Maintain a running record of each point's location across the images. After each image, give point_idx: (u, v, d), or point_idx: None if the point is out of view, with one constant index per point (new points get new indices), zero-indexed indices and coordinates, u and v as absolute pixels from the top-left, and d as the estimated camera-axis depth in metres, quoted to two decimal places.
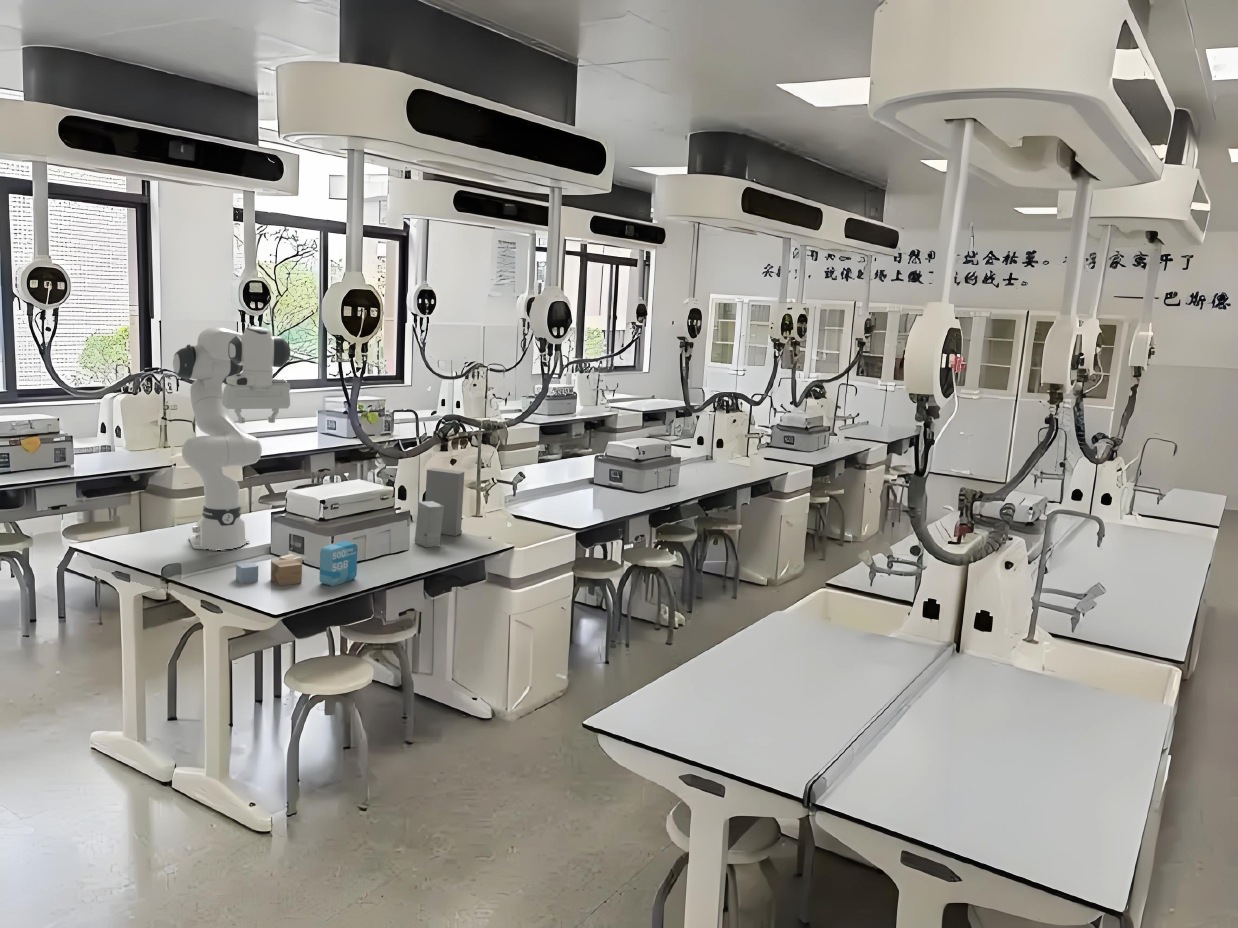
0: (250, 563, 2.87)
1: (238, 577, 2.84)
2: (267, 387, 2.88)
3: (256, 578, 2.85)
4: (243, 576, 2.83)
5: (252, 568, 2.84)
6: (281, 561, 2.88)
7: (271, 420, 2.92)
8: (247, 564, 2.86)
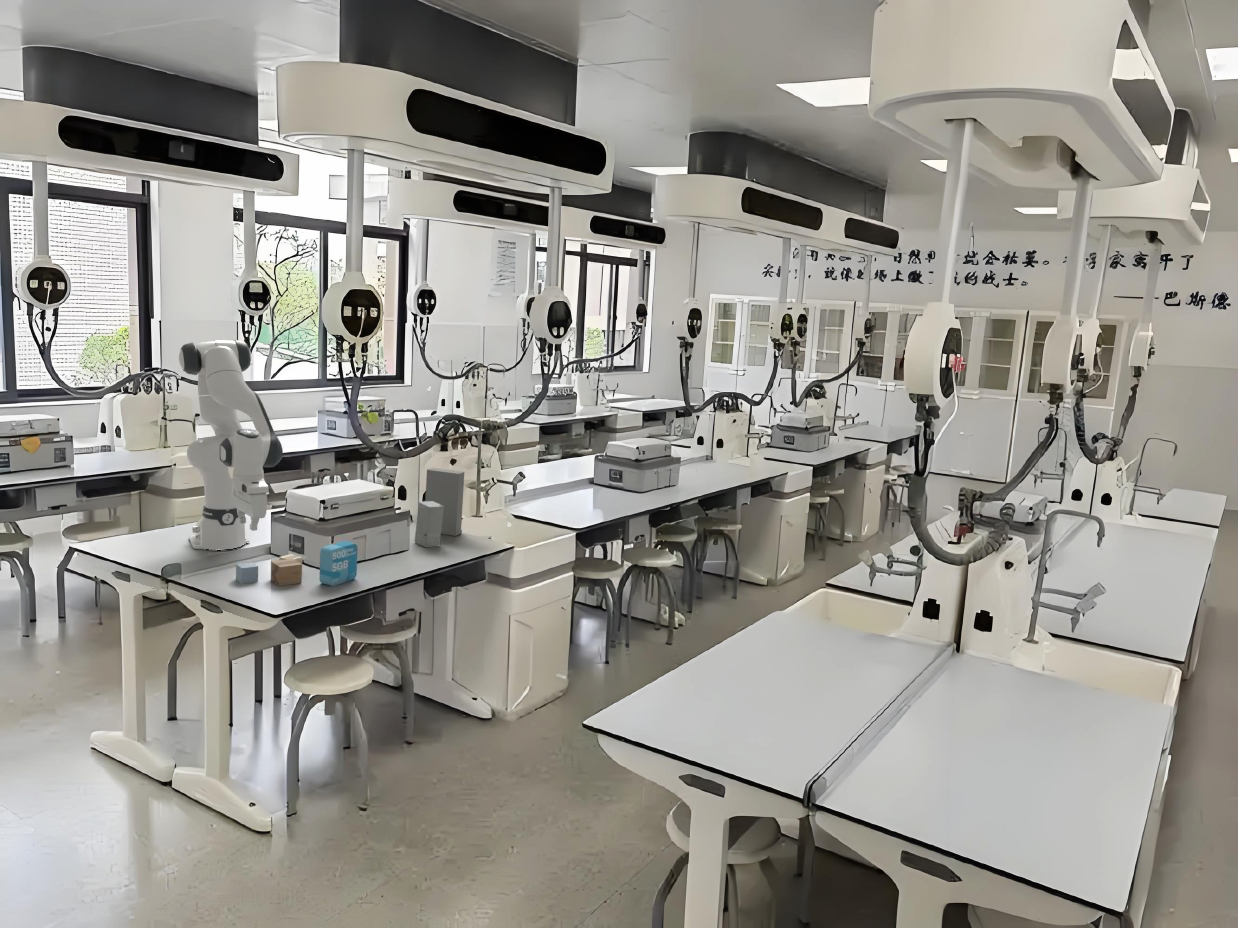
0: (250, 563, 2.87)
1: (238, 577, 2.84)
2: None
3: (256, 578, 2.85)
4: (243, 576, 2.83)
5: (252, 568, 2.84)
6: (281, 561, 2.88)
7: None
8: (246, 564, 2.86)
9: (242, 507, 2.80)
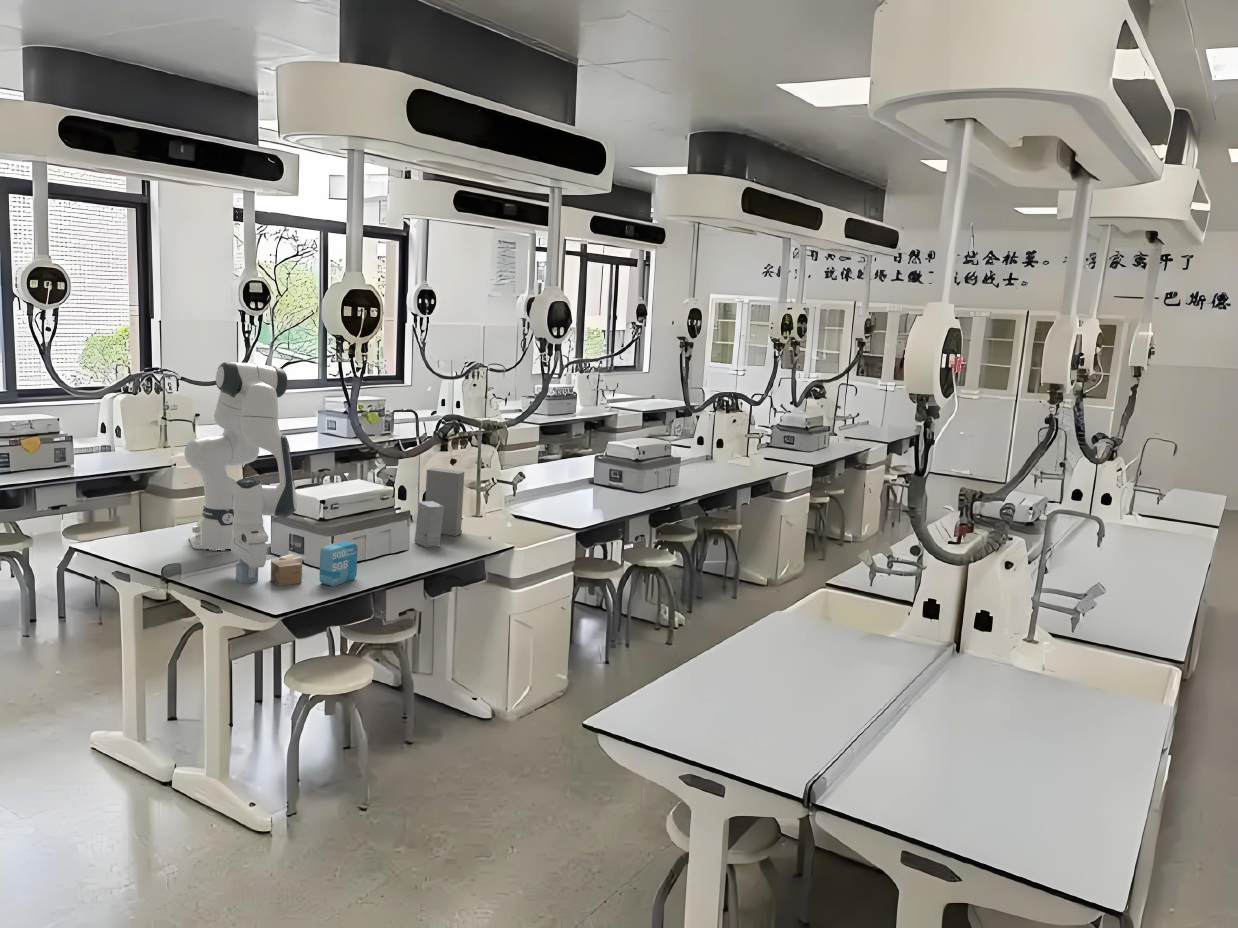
0: None
1: (238, 577, 2.84)
2: None
3: (256, 578, 2.85)
4: (243, 576, 2.83)
5: None
6: (281, 561, 2.88)
7: None
8: (246, 564, 2.85)
9: (242, 556, 2.83)
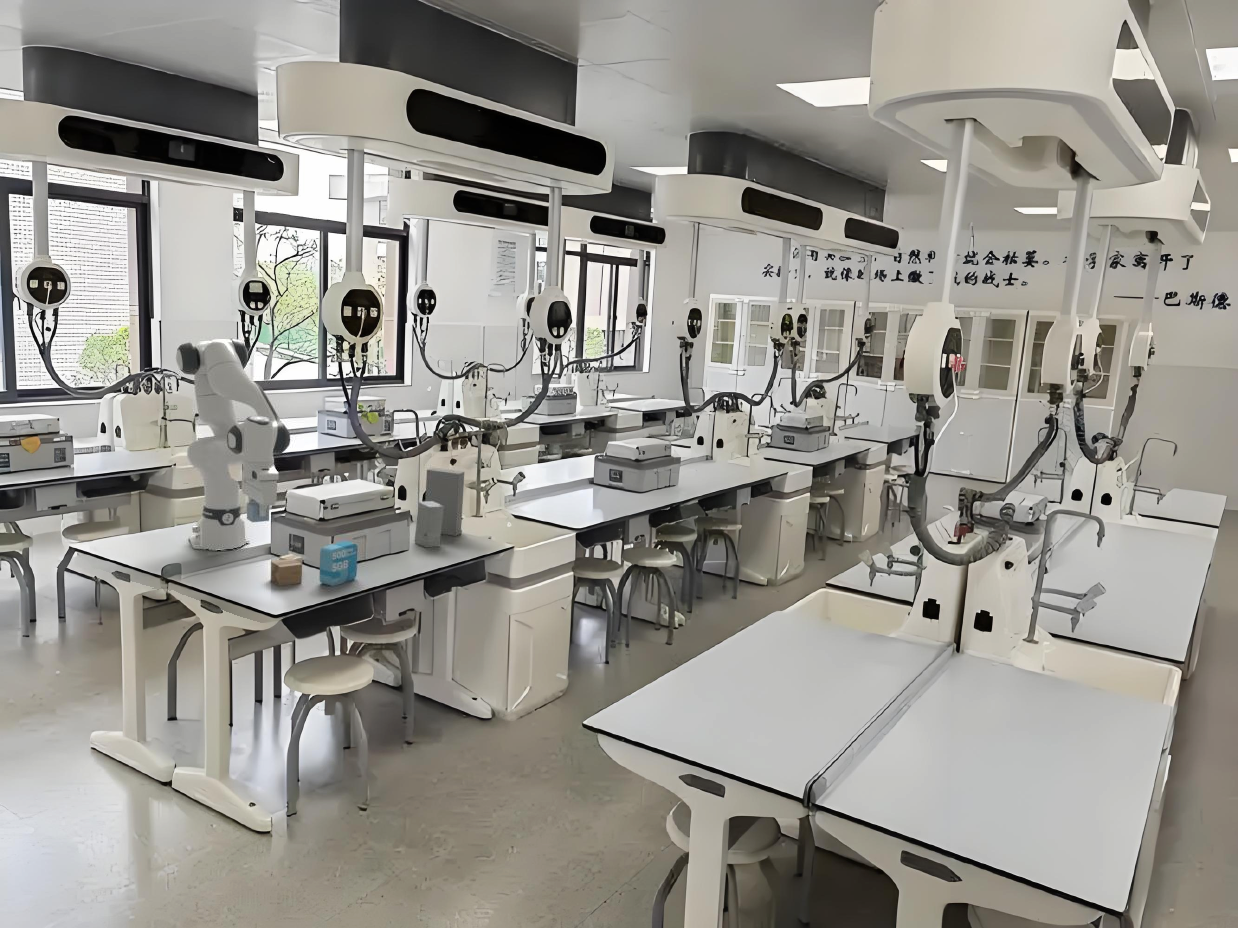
0: None
1: (249, 516, 2.81)
2: None
3: (267, 517, 2.82)
4: (254, 515, 2.80)
5: None
6: (281, 561, 2.88)
7: None
8: (257, 503, 2.82)
9: (253, 494, 2.80)
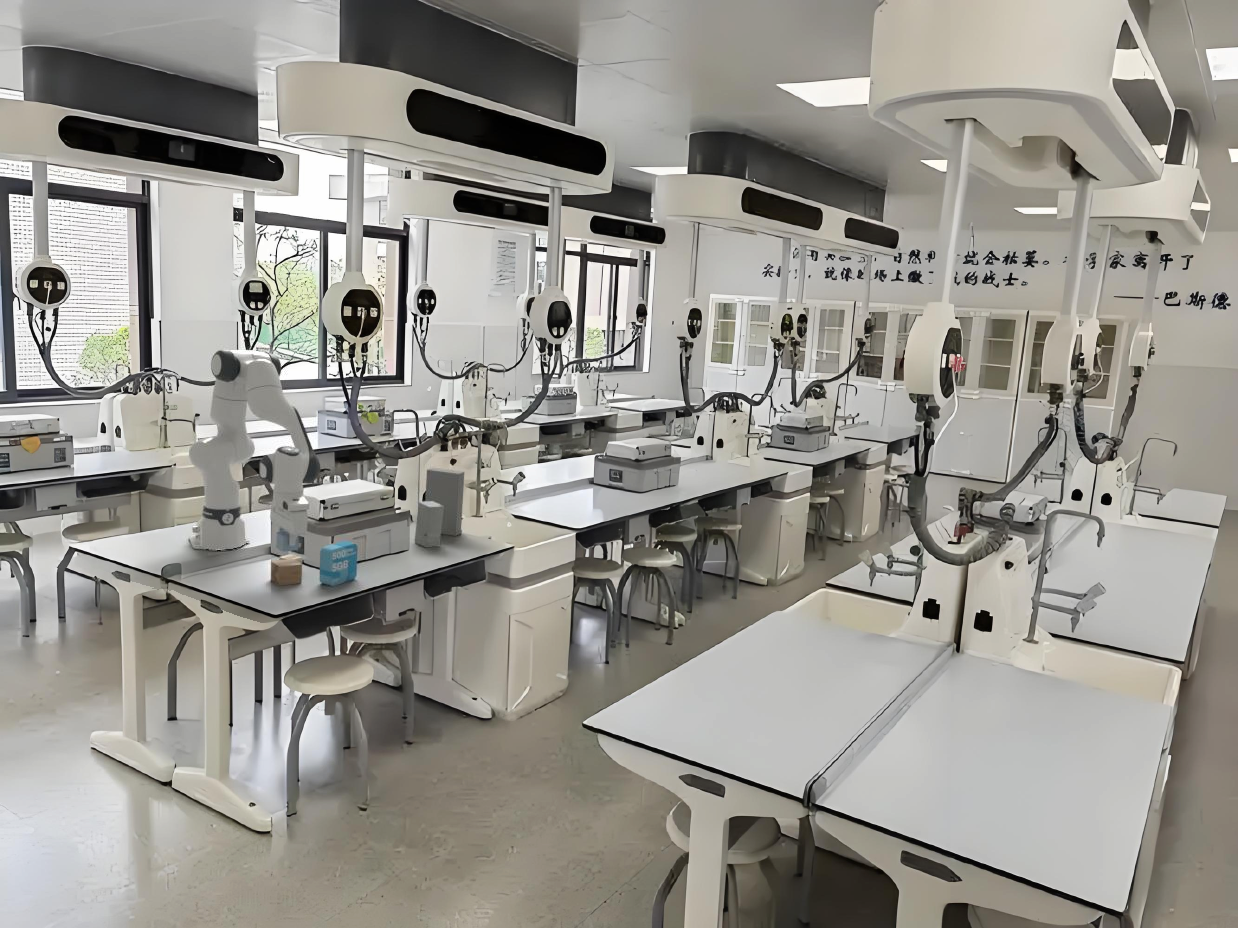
0: None
1: (279, 545, 2.85)
2: None
3: (297, 546, 2.86)
4: (284, 544, 2.83)
5: None
6: (281, 561, 2.88)
7: None
8: (287, 532, 2.86)
9: (283, 524, 2.83)
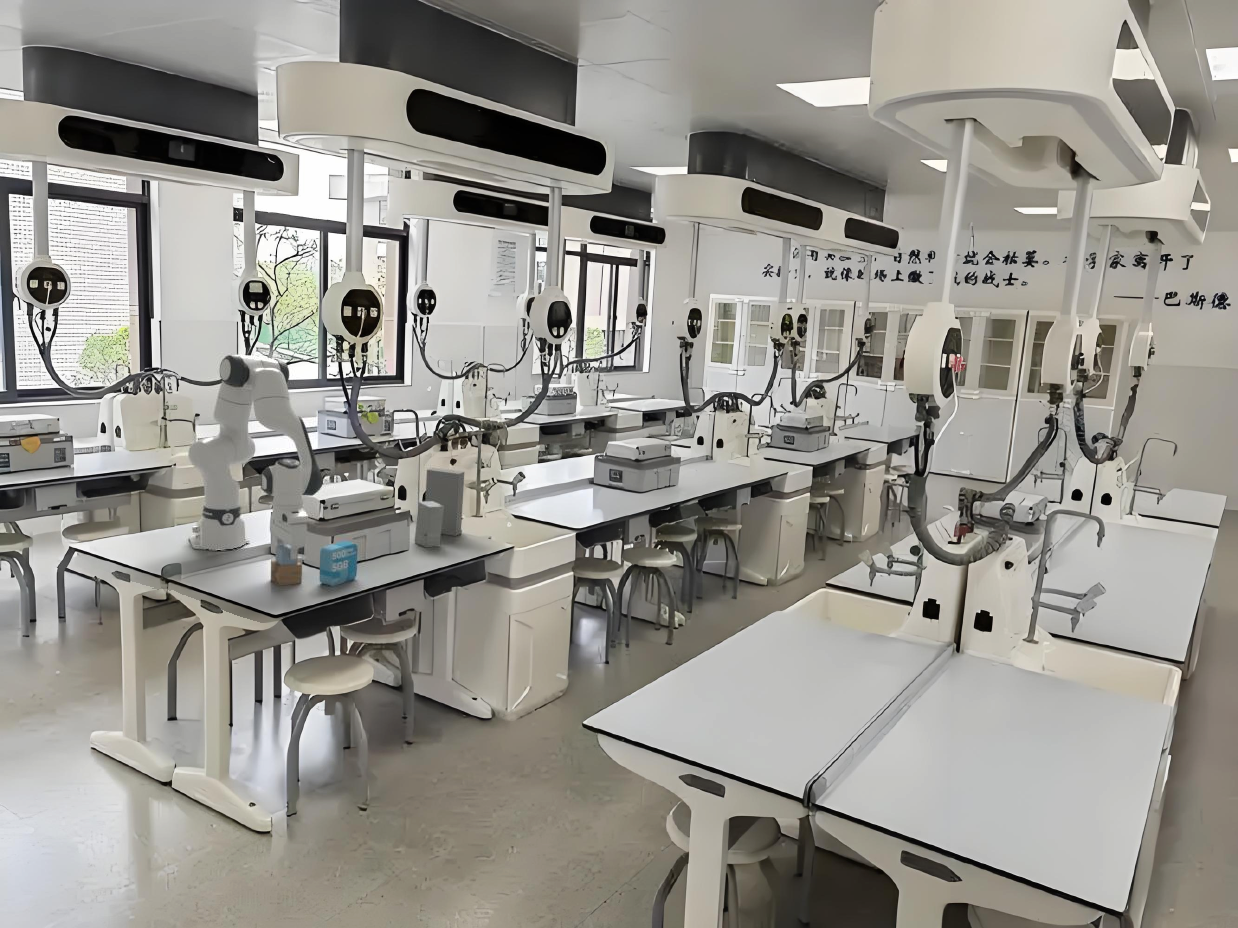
0: (289, 545, 2.88)
1: (278, 559, 2.86)
2: None
3: (296, 560, 2.87)
4: (283, 558, 2.84)
5: None
6: None
7: None
8: (286, 546, 2.87)
9: (282, 536, 2.84)
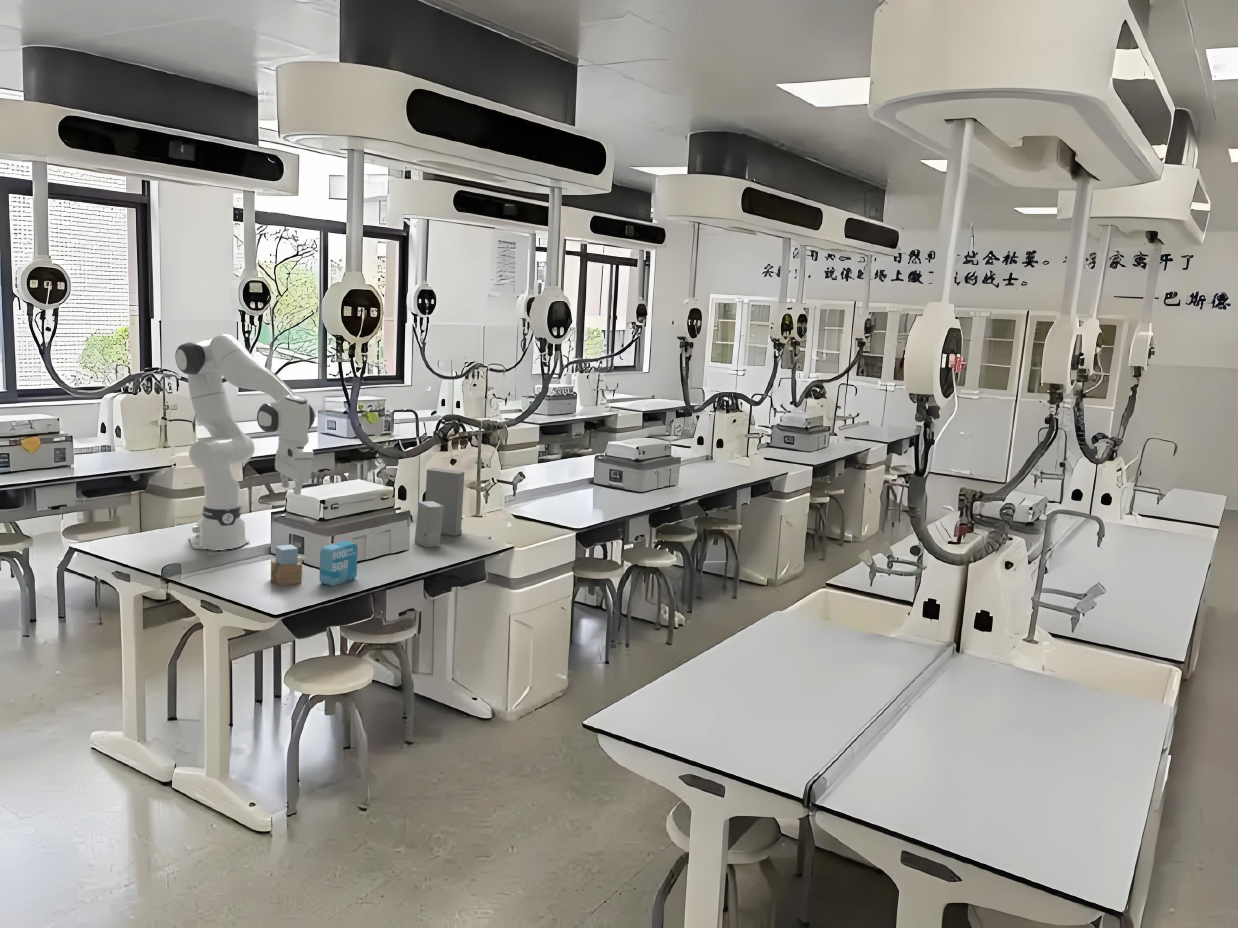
0: (289, 545, 2.88)
1: (278, 559, 2.86)
2: None
3: (296, 560, 2.87)
4: (283, 558, 2.84)
5: (292, 550, 2.85)
6: None
7: None
8: (286, 546, 2.87)
9: (287, 472, 2.86)
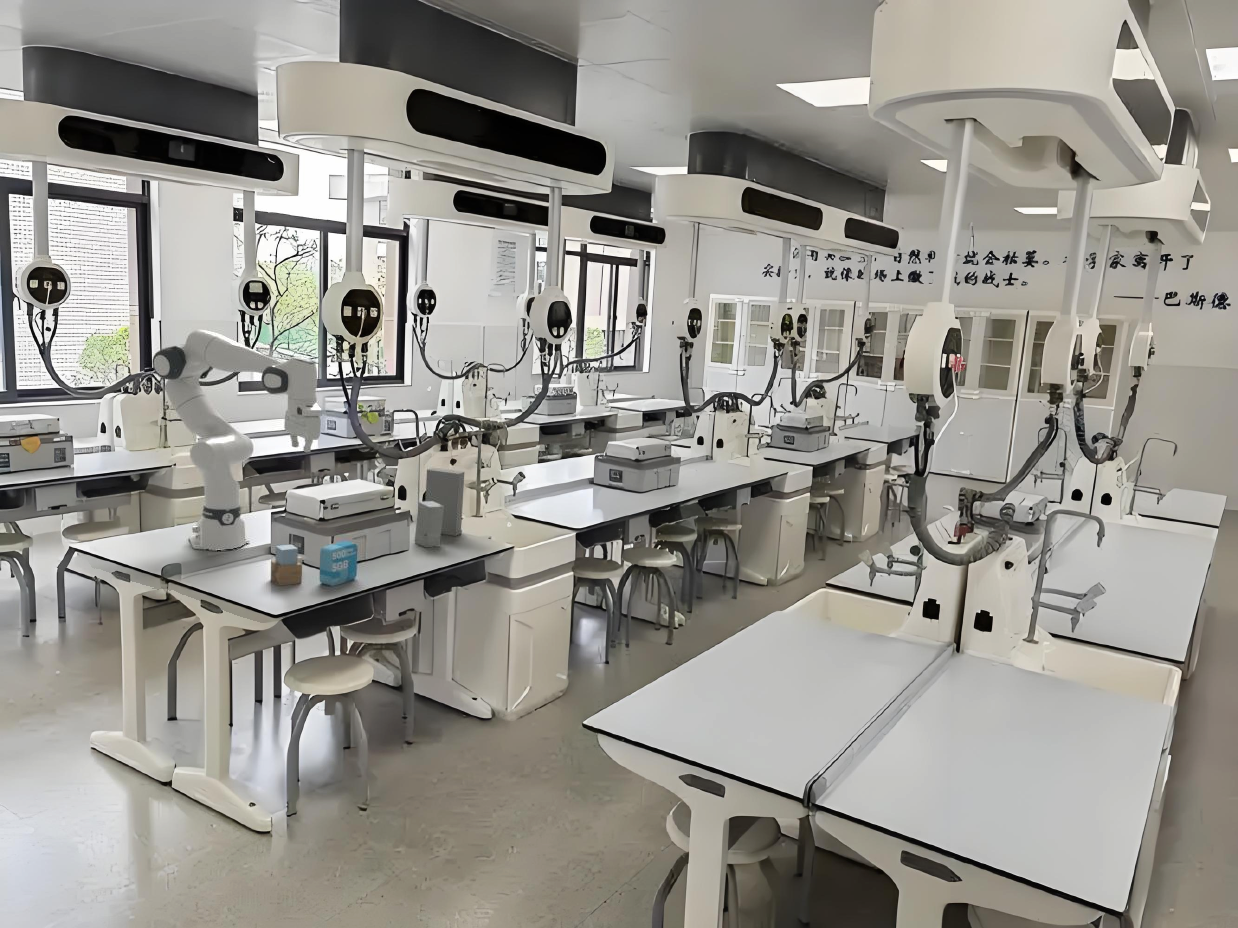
0: (289, 545, 2.88)
1: (278, 559, 2.86)
2: None
3: (296, 560, 2.87)
4: (283, 558, 2.84)
5: (292, 550, 2.85)
6: None
7: None
8: (286, 546, 2.87)
9: (296, 431, 2.96)
